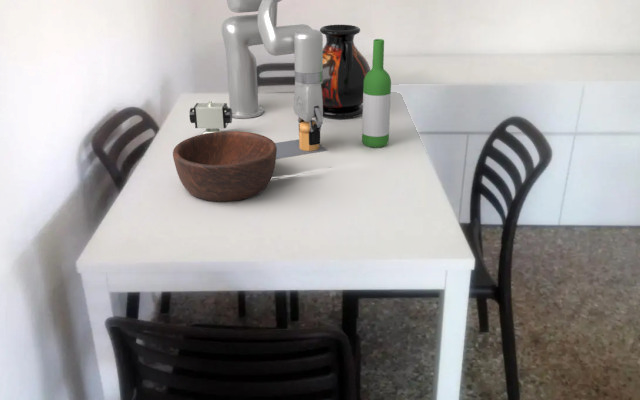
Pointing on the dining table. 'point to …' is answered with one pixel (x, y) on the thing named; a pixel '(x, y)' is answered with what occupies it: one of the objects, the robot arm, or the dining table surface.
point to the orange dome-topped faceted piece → (306, 137)
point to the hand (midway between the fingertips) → (309, 139)
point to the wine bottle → (376, 101)
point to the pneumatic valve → (211, 116)
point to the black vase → (342, 73)
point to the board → (293, 149)
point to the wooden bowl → (225, 164)
